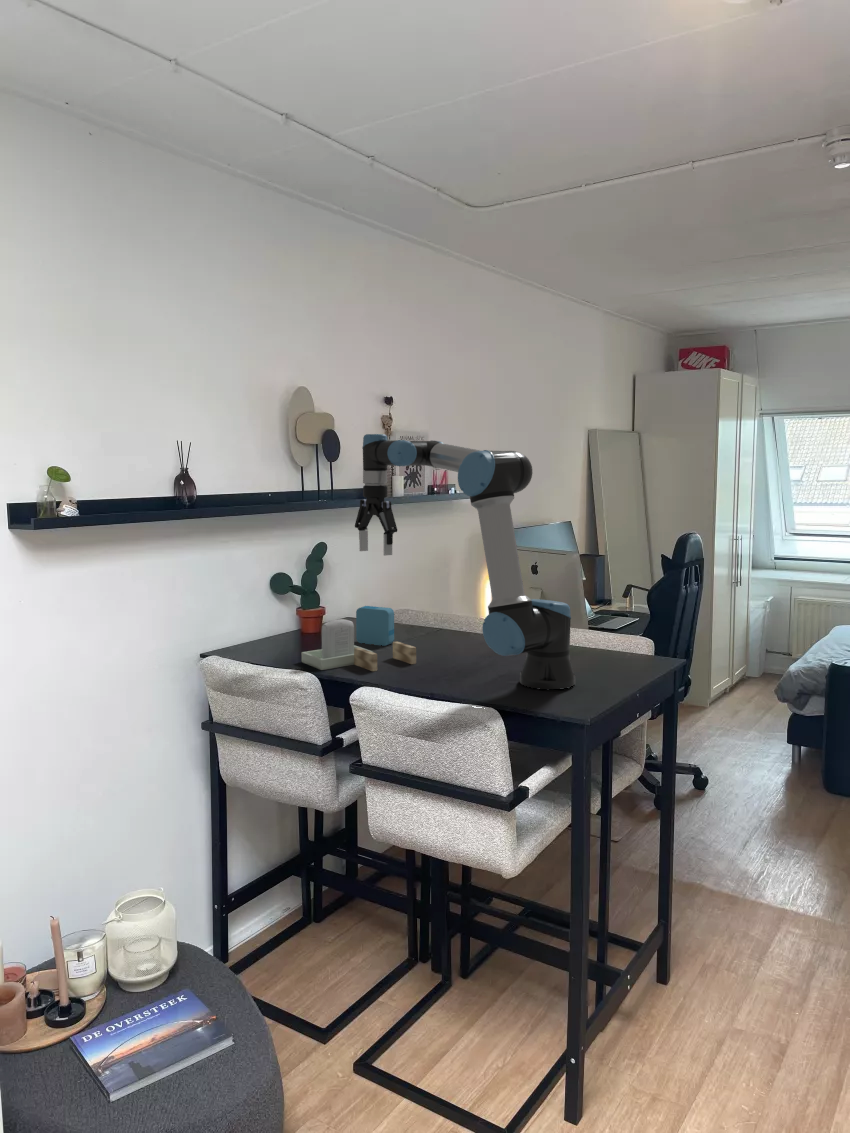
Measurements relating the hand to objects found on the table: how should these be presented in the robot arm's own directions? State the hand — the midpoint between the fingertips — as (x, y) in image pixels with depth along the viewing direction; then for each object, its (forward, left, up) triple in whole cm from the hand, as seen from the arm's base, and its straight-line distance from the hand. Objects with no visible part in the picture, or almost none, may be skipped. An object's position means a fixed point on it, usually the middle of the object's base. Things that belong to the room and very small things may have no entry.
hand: (375, 553), depth 265 cm
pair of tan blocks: (-14, +6, -32) cm, 35 cm away
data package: (+11, -7, -32) cm, 35 cm away
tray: (-3, +16, -32) cm, 36 cm away
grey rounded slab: (-3, +16, -31) cm, 35 cm away
